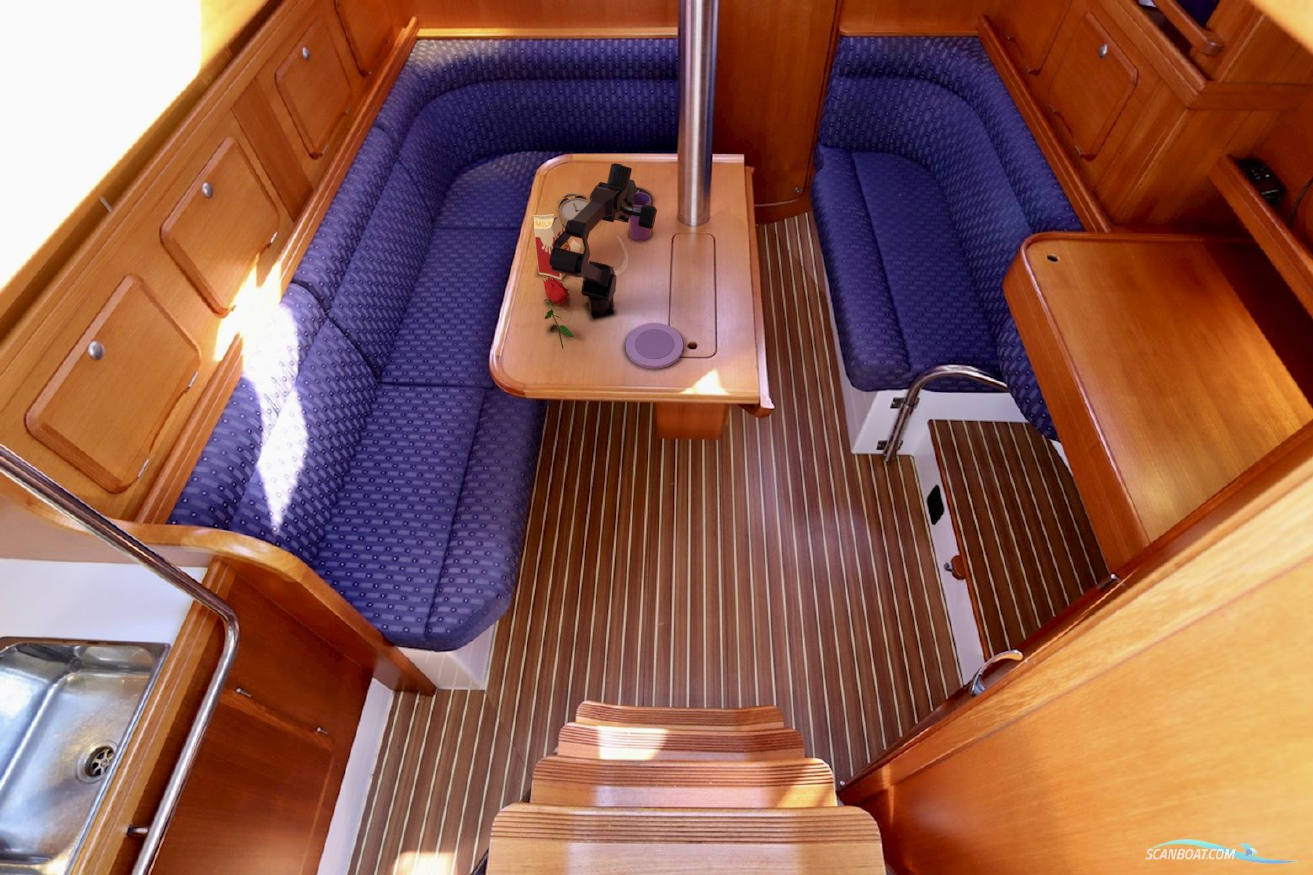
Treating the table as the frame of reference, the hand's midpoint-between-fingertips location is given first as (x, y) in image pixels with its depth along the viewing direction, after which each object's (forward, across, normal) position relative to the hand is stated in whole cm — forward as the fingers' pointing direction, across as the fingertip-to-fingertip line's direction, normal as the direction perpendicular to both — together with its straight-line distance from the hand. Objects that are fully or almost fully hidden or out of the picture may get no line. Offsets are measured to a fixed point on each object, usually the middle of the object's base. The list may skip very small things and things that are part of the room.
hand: (631, 216), depth 193 cm
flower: (-16, +9, +34) cm, 39 cm away
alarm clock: (+16, +24, +2) cm, 29 cm away
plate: (-16, -20, +34) cm, 43 cm away
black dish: (+25, +9, -7) cm, 28 cm away
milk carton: (-2, +20, +20) cm, 28 cm away
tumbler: (+15, 0, +3) cm, 15 cm away
